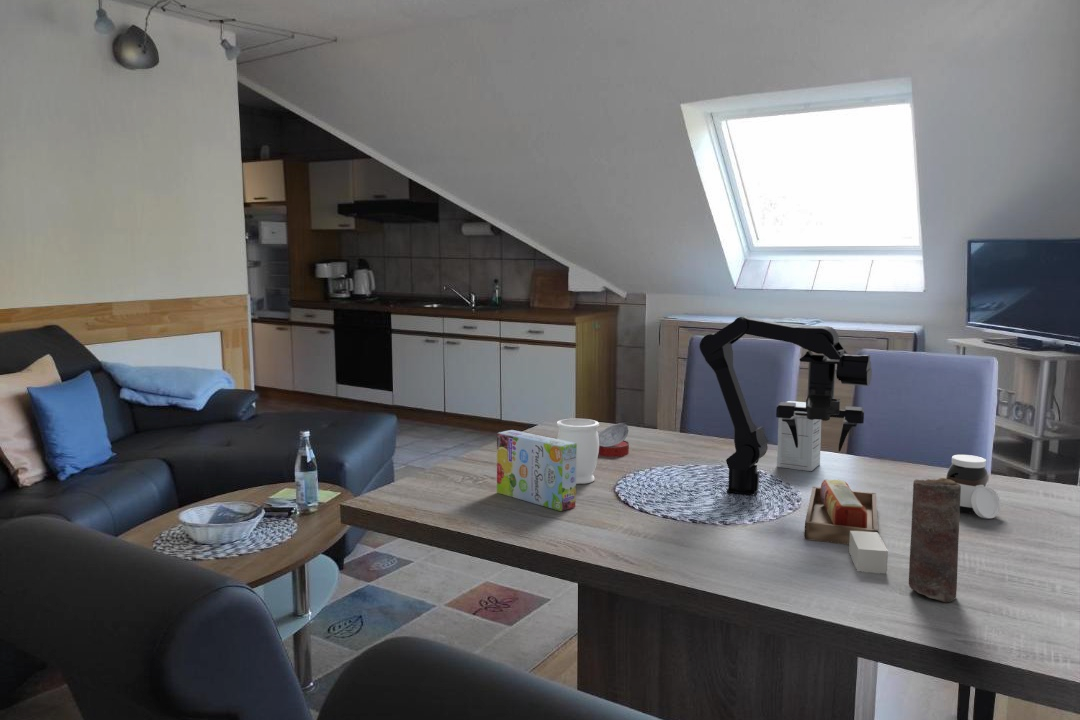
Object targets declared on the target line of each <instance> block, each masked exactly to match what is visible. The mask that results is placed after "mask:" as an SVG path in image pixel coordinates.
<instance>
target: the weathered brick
mask: <svg viewBox="0 0 1080 720" xmlns="http://www.w3.org/2000/svg"><path fill="white" fill-rule="evenodd" d="M912 484H913V485H912V486H913V487H912V505H911V506H912V509H911V510H912V511H911V513H912V514H911V529H910V531H911V532H910V547H909V550H910V551H909V562H908V563H909V567H908V570H909V571H908V586H909V588H910V589H911V590H913V591H916V592H917V593H918V594H920V595H923V596H925V597H927V598H929V599H933V600H936V601H940V602H941V603H942V602H943V603H951V602H953V601H954V600H955V599H956V598H957V589H958V585H957V584H958V564H959V563H958V561H959V560H958V559H959V539H960V538H959V536H960V518H961V517H960V514H961V512H960V496H961V485H960V484H958V483H955V481H952V480H950V479H946V477H940V478H937V479H914V480H913V483H912Z"/></svg>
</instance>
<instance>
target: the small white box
mask: <svg viewBox="0 0 1080 720" xmlns="http://www.w3.org/2000/svg"><path fill="white" fill-rule="evenodd" d="M848 553H849V555H851V556H850V558H851V560H852V562H854V563H853V565H854V568H855V570H856V569H857V570H856V572H857V571H862V572H861V573H868V572H874V573H873V574H880V573H888V561H889V560H888V559H889V558H888V556H889V550H888V549H887V547H886V545H885V543H884V541H883V539H882V538H881V535H879V531H878V532H864V531H850V540H849V545H848ZM863 571H864V572H863Z"/></svg>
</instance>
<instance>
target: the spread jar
mask: <svg viewBox="0 0 1080 720" xmlns="http://www.w3.org/2000/svg"><path fill="white" fill-rule="evenodd" d="M986 466H987V459H986V458H983V457H980V456H977V455H971V454H954V455H952V457H951V465H950V466H949V468H948V470H947V473H946V476H945V479H950V480H952V481H955V483H958V484H960V485H961V496H960V513H965V514H976V515H977V516H978V517H980V518H981V519H993V518H996V517H997V516H998V515H999V513H1000V511H1001V506H1002V505H1001V499H1000V496H999V493H997V491H996V490H995V489H994V488H992V487H990V486H989V482H990V477H989V476H990V475H989V472H988V470H987V468H986Z"/></svg>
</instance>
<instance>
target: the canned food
mask: <svg viewBox="0 0 1080 720" xmlns="http://www.w3.org/2000/svg"><path fill="white" fill-rule="evenodd" d="M628 434H629V426H628V425H627V424H626V423H625V422H619V423H615V424H612V425H610V426H608V427H606V428H605V429H604V430H602V431H600V432H599V433H598V436H599V453H598V456H601V457H606V458H621V457H625V456H628V455H629V453H630V452H629V451H630V450H629V449H630V447H629V445H630V443H629V442H628V441H626V440H625V439H626V438H627V436H628Z"/></svg>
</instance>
